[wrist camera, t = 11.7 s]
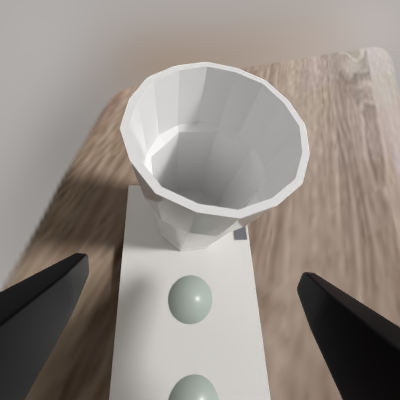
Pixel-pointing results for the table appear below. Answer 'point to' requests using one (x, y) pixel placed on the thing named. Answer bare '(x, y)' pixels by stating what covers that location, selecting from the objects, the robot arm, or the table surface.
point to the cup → (212, 150)
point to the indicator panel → (185, 317)
